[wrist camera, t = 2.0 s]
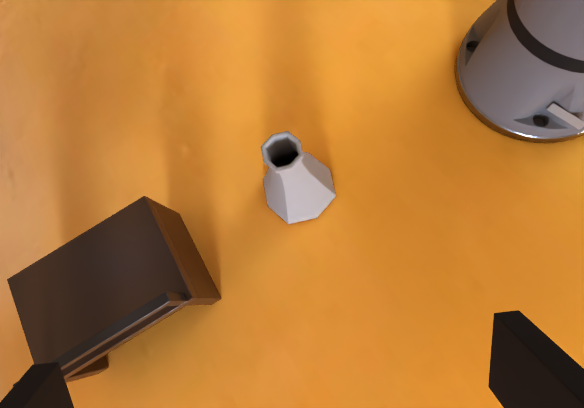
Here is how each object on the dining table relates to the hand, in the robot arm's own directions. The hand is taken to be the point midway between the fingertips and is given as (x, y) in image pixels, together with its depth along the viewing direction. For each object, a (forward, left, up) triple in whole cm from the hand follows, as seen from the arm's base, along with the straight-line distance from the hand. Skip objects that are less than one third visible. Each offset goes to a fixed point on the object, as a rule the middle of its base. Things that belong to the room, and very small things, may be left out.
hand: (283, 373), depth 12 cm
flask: (-4, -13, -24) cm, 28 cm away
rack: (+15, -12, -24) cm, 31 cm away
